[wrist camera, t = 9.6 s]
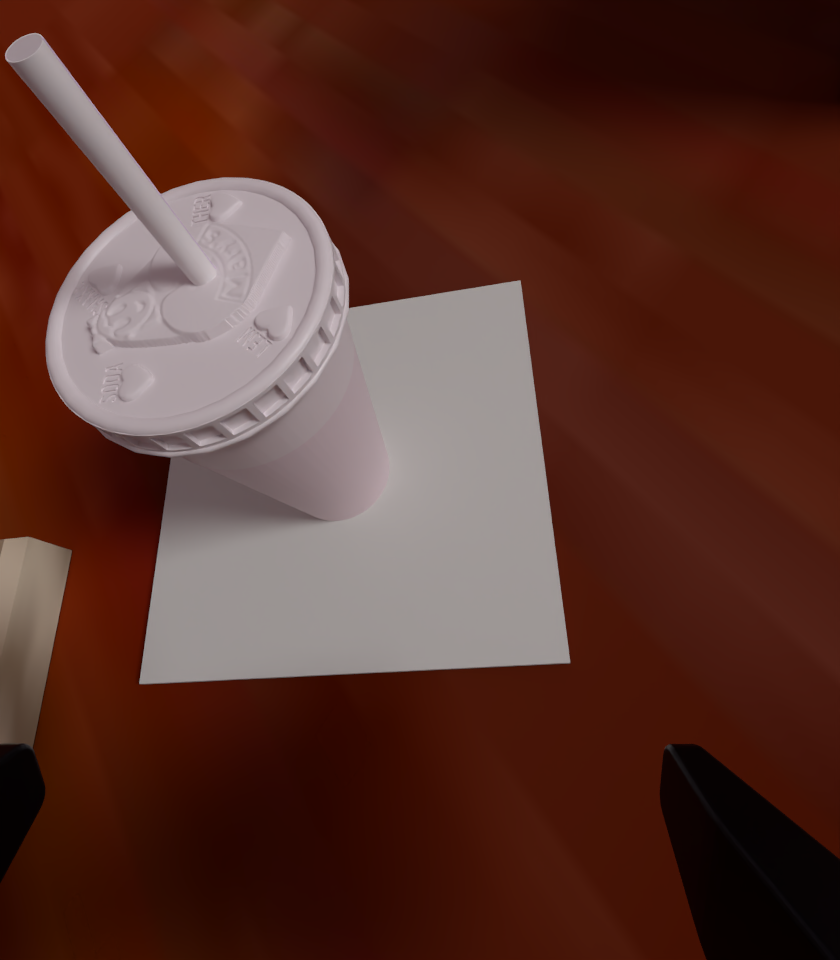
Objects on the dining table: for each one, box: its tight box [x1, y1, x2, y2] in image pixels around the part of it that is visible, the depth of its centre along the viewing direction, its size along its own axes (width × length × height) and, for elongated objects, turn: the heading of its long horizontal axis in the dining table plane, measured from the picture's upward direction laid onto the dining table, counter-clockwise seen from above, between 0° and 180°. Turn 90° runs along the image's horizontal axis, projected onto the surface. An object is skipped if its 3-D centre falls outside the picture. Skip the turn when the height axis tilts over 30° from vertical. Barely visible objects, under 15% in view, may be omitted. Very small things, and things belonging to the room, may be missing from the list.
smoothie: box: [5, 33, 390, 521], centre depth 14 cm, size 6×6×14 cm
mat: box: [139, 281, 570, 684], centre depth 20 cm, size 14×14×1 cm
